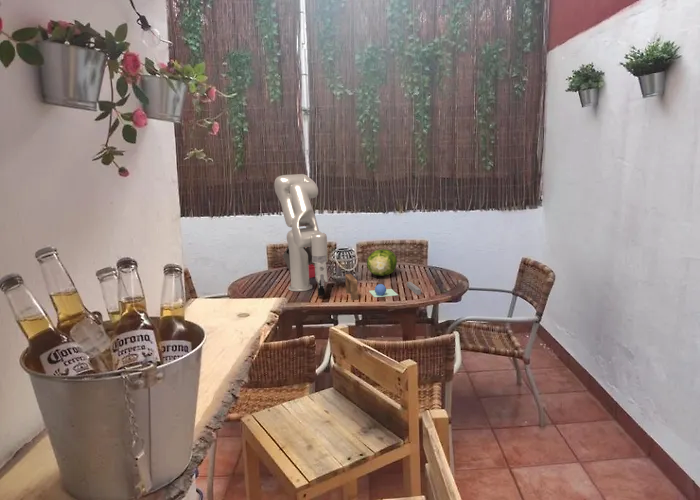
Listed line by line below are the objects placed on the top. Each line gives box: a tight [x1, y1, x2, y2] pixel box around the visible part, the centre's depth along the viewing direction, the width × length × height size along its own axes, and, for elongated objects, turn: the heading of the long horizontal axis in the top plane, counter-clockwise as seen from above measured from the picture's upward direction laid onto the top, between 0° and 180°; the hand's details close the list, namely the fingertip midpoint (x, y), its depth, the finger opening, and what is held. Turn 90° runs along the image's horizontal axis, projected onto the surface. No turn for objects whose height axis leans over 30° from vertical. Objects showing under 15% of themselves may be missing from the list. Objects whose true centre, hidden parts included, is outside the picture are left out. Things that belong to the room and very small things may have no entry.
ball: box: [374, 283, 387, 295], centre depth 259 cm, size 6×6×6 cm
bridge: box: [344, 273, 359, 301], centre depth 259 cm, size 3×15×9 cm, turn 11°
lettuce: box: [366, 248, 398, 277], centre depth 295 cm, size 16×21×15 cm
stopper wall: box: [406, 281, 422, 296], centre depth 266 cm, size 16×2×2 cm, turn 11°
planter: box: [282, 246, 314, 272], centre depth 319 cm, size 17×8×21 cm
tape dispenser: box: [308, 263, 315, 279], centre depth 305 cm, size 14×10×5 cm
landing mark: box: [368, 288, 399, 298], centre depth 263 cm, size 12×12×1 cm
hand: (321, 295), depth 257 cm, fingers closed
